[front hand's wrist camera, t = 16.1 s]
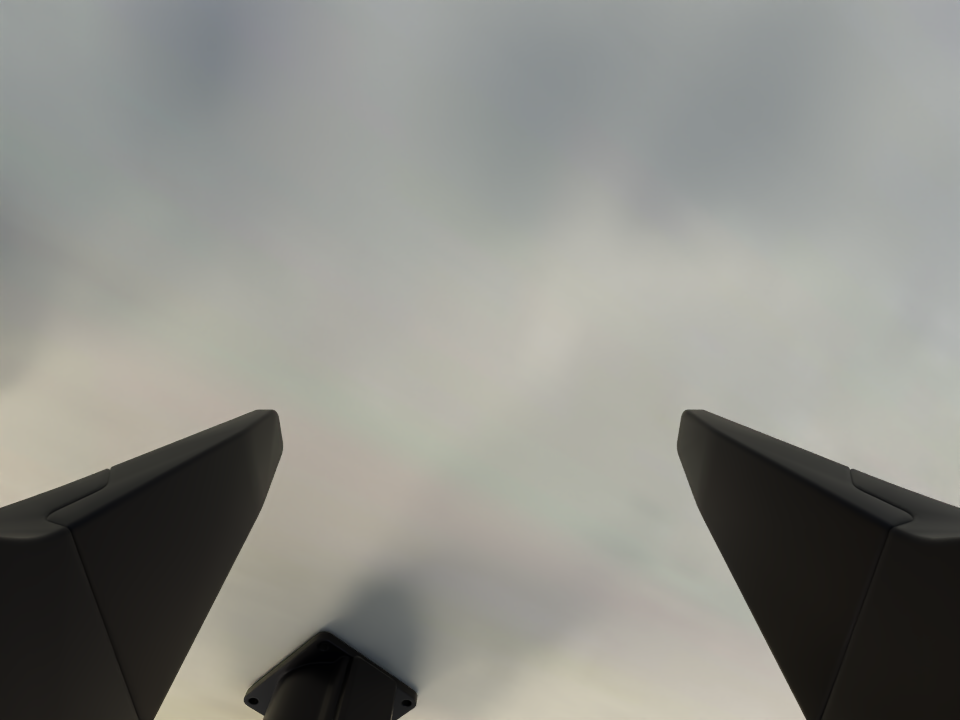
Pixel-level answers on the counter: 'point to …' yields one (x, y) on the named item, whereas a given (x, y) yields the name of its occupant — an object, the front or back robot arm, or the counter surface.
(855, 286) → the counter surface
